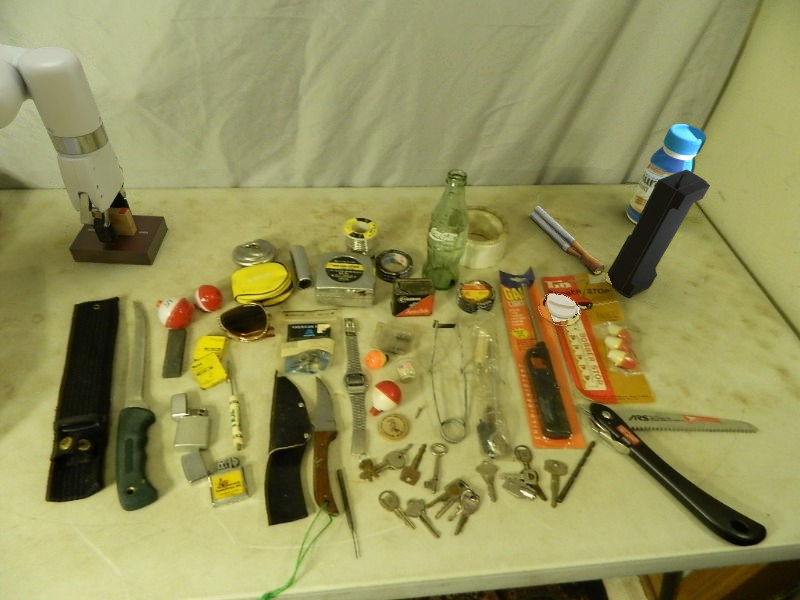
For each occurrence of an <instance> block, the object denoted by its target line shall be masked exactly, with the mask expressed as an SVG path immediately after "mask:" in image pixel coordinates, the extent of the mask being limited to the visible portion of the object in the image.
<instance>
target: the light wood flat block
mask: <svg viewBox="0 0 800 600" xmlns="http://www.w3.org/2000/svg"><path fill="white" fill-rule="evenodd" d="M130 210H131V208H130V209H128V208H110V207H109V208H108V215H109V220H110V223H113V224H114V227H115V229H116V232H117V234H118V235H131V236H134V234H135V232H136V230H137V228H136V225H135V223H134V220H133V217H132V215H133V213H132V211H131V212H130ZM94 213H95V218H101V219H102V214H101V212H94ZM131 213H132V214H131Z"/></svg>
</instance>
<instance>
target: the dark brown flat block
mask: <svg viewBox="0 0 800 600" xmlns="http://www.w3.org/2000/svg"><path fill="white" fill-rule="evenodd" d="M132 215H133V216H132V217H133V220H134V223H135V225H136V228H137V230H136V232H135V234H134V236H131V235H118V237H119V239H120V241H119V242H118V243H106V242H100V241H99V239H98V236H97V234H96V232H95V230H94V227H93V226H90V225H86V224H82V227H81V228H80V230H79V232H78V234H77V235H76V237H75V238H74V240H73V241H72V242H71V245H70V246H69V248H68V251H69V253H70V255H71V257H72V259H73V260H74V262H76V263H97V264H118V265H143V266H152V265H153V264H154V263H153V262H154V260H155V258H156V256H157V253H158V252H159V249H160V247H161V245H162V243H163V241H164V238H165V237H166V234H167V231H168V230H169V228H168V225H167V221H166V219H165V216H164V215H163V216H162V215H140V214H132Z"/></svg>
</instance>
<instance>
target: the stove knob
mask: <svg viewBox="0 0 800 600" xmlns="http://www.w3.org/2000/svg"><path fill="white" fill-rule="evenodd" d="M548 294H549V295H548ZM548 294H547V295H548V296H547V305H548V309H549V312H550V313H551V317H552V319H553V321H554V322H560V321H566V320H567V319H568V318H570V319H571V318H572V317H573V316H576V315H575V314H577V313H578V314H579V315H580V316H581V314H580V313H581V312H580V313H579V310H580V311H581V307H578V306H579V305H578V306H577V305H576V303H575V302H576V301H575V300H573V301H572V300H571V299H570V298H571V297H569V296H567V295H566V296H567V297H566V296H564V295H565V294H564V295H563V294H561V295H558V294H559V293H558V294H557V295H556V294H555V293H548ZM568 297H569V298H568ZM537 307H538V312H539V314H540V315H541V316H542V314H541V312H540V310H539V306H538V305H537ZM568 320H569V319H568ZM552 325H555V326H559V327H568V326H567V325H559V324H555V323H553V324H552Z"/></svg>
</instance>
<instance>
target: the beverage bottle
mask: <svg viewBox="0 0 800 600" xmlns="http://www.w3.org/2000/svg"><path fill="white" fill-rule="evenodd" d="M706 140H707V135H706V134H705V132H704V131H703V130H701V129H699V128H698V127H696V126H693V125H689V124H684V123H675V124H673V125H671V126H670V127H669V129H668V130H667V132H666V134H665V137H664V139H663V142H662V144H663V146H661V147H660V148H658V149H657V150H656V151H655V152H654V153H653V154H652V155H651V157H650V162H649V163H648V164H647V165H646V166H645V168H644V170H643V174H642V176H641V178H640V179H639V183H638V185H637V187H636V189H635V191H634V193H633V196H632V197H631V200H630V202H629V204H628V206H627V208H626V216H627V217H628V219H629V220H630V221H631V222H632V223H634V224H635V225H636V224H637V222H638V220H639V216H640V214H641V213H642V211H643V209H644V207H645V205H646V203H647V201H648V199H649V197H650V195H651V193H652V191H653V189H654V187H655V185H656V183H657V181H658V180H659V179H662V178H664V177H667V176H669V175H672V174H674V173H677V172H679V171H683V170H686V169H687V170H689V171H691V172H692V173H694V172H695V169H696V156H697V155H698V154H699V153H700V152H701V150H702V149H703V147H704V145H705V144H706Z"/></svg>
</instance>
